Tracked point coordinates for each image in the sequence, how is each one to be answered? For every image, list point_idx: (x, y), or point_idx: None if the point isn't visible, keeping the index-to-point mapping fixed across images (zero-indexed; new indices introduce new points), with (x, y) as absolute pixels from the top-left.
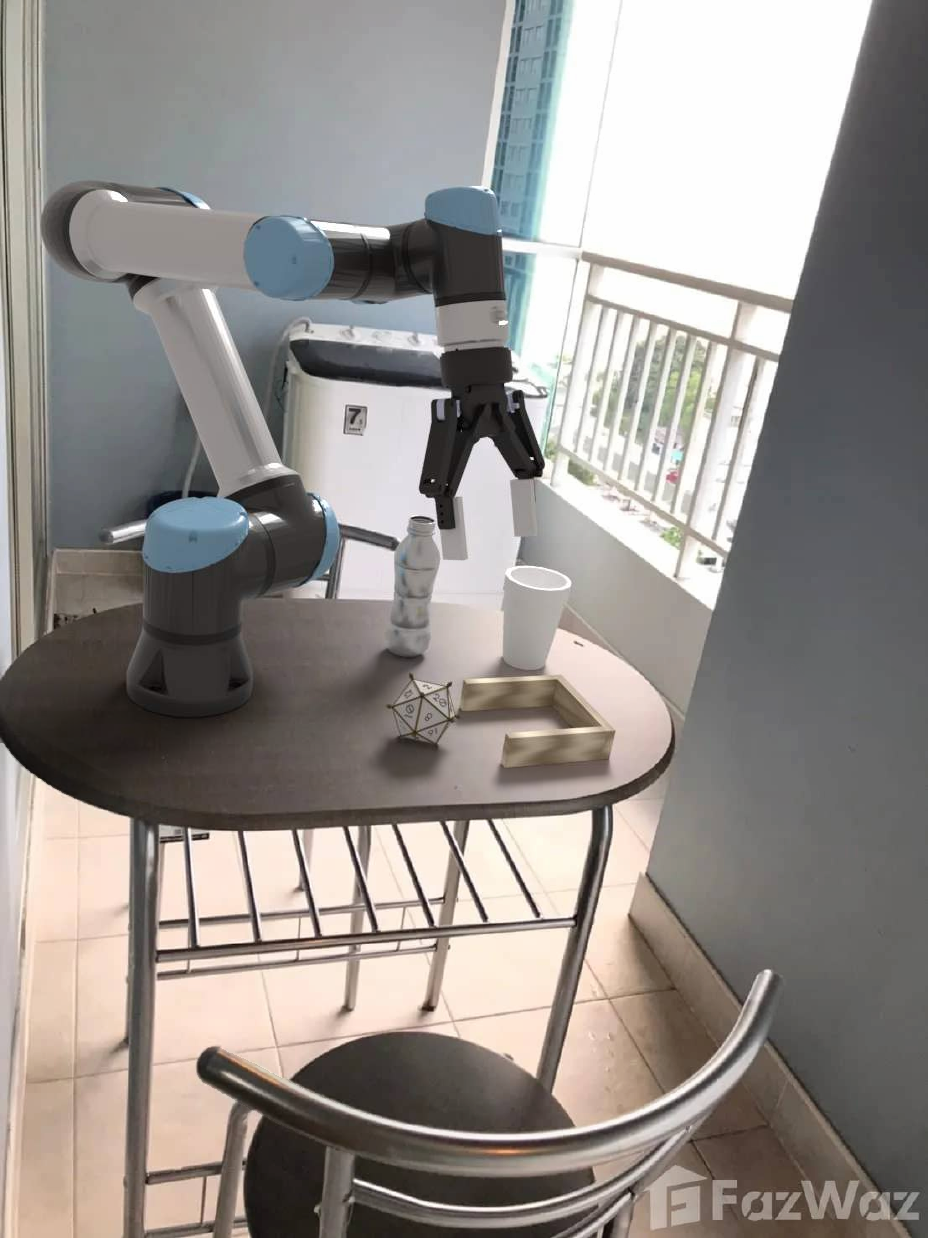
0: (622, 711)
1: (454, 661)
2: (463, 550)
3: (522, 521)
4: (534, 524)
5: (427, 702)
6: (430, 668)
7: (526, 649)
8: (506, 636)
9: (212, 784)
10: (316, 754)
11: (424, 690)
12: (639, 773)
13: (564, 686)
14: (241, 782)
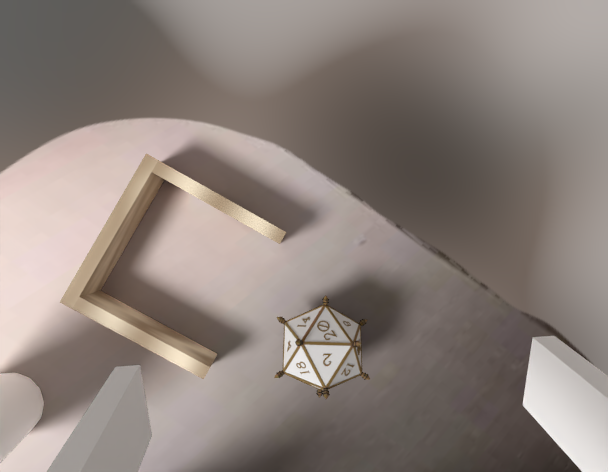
0: (27, 219)
1: None
2: (572, 353)
3: (128, 446)
4: (116, 394)
5: (348, 334)
6: (155, 465)
7: (18, 398)
8: (17, 441)
9: None
10: (435, 385)
11: (338, 354)
12: (159, 119)
13: (91, 275)
14: None
